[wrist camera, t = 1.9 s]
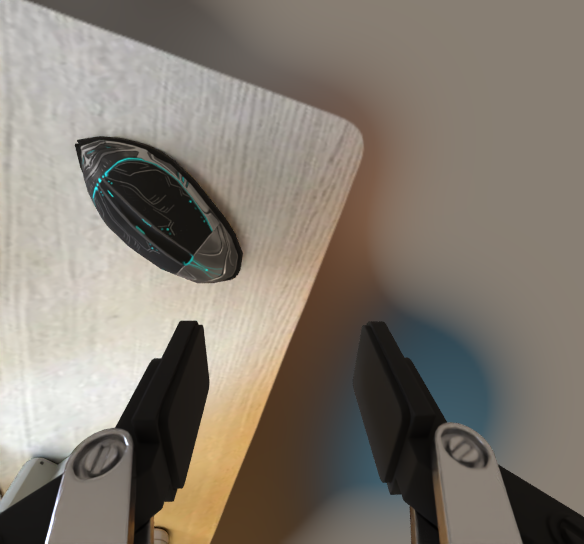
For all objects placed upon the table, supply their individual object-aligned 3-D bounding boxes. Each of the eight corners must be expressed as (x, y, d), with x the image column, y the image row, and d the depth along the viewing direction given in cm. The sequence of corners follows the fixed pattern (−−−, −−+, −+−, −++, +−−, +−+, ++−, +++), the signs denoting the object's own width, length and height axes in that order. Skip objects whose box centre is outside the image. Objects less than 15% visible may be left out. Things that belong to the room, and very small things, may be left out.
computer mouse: (108, 98, 24) (61, 90, 18) (267, 235, 29) (266, 259, 24) (57, 180, 26) (3, 194, 21) (213, 292, 32) (201, 325, 27)
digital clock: (23, 454, 42) (-53, 552, 32) (72, 432, 40) (9, 528, 30) (106, 508, 48) (64, 603, 39) (151, 491, 47) (119, 585, 37)
